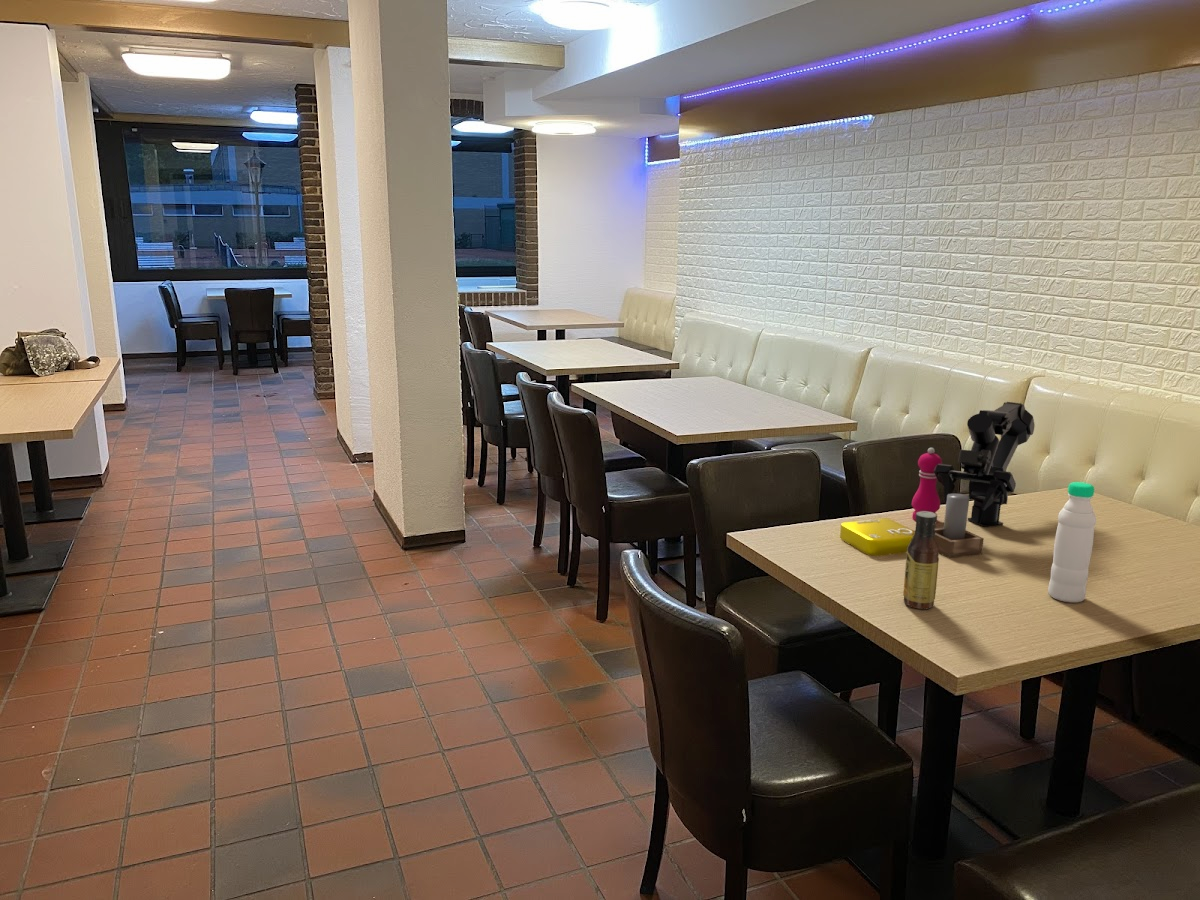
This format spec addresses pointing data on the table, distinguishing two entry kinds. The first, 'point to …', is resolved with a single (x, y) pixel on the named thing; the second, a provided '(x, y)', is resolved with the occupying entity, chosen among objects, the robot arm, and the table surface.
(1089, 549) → the water bottle
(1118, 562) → the table surface
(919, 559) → the sauce bottle
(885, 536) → the element tile
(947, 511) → the charcoal canister
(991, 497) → the robot arm
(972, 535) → the walnut socket
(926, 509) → the pepper mill
